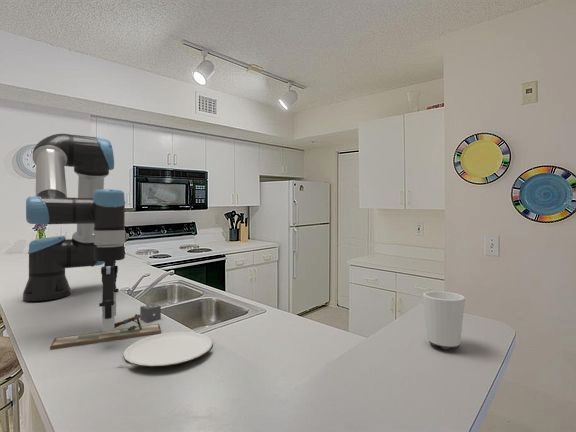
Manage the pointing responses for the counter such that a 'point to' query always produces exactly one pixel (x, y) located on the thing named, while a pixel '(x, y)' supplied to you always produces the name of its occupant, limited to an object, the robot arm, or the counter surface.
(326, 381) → the counter surface
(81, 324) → the counter surface
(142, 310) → the die
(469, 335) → the counter surface
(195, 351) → the plate
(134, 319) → the lantern lamp post
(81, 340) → the board
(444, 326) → the cup
